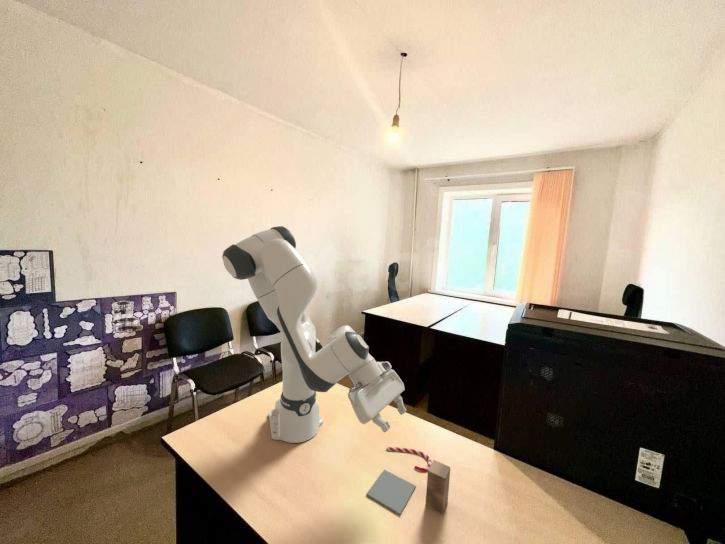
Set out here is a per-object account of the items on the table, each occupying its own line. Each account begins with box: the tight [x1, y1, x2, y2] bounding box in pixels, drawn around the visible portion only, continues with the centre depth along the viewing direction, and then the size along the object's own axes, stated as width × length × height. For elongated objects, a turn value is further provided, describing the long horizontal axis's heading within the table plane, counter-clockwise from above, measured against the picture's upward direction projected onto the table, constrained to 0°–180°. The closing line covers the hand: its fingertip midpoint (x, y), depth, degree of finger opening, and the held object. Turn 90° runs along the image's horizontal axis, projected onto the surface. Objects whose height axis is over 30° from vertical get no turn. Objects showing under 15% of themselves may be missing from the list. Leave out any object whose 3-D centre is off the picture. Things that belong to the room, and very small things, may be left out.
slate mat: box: [366, 469, 417, 516], centre depth 79 cm, size 10×10×1 cm
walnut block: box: [425, 459, 451, 516], centre depth 75 cm, size 4×4×10 cm
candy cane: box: [386, 446, 433, 473], centre depth 91 cm, size 8×1×15 cm
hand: (396, 421), depth 79 cm, fingers open, 8 cm apart
